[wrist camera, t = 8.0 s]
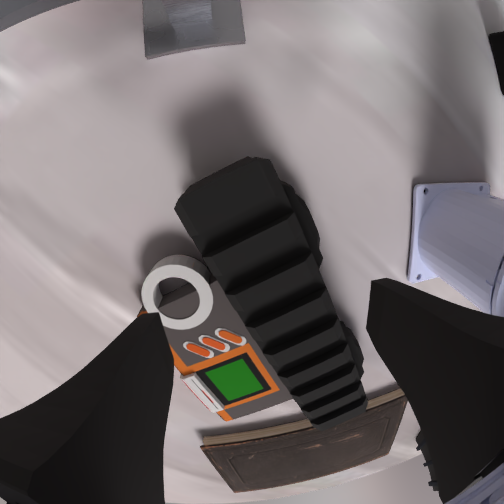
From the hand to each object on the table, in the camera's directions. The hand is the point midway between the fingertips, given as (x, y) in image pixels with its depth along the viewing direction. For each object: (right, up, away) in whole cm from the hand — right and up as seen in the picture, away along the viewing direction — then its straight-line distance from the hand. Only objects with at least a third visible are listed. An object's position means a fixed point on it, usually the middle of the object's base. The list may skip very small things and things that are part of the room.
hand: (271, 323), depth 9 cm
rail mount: (+2, -1, +12) cm, 12 cm away
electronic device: (-3, -4, +13) cm, 14 cm away
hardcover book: (+6, -22, +21) cm, 31 cm away
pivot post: (-4, +17, +4) cm, 18 cm away
